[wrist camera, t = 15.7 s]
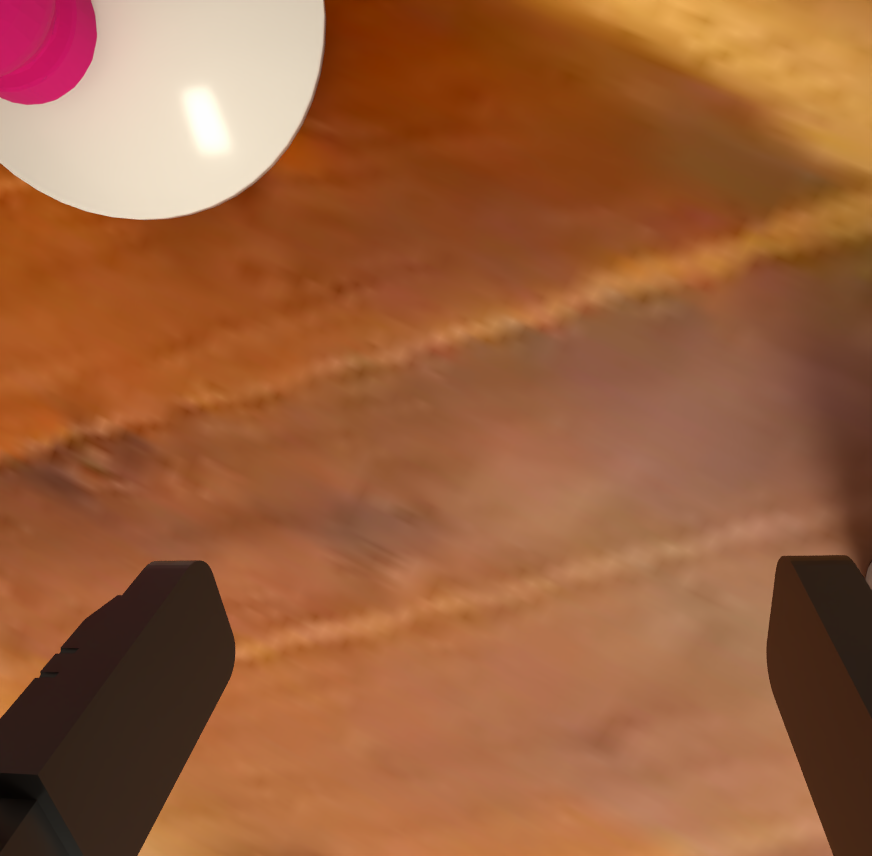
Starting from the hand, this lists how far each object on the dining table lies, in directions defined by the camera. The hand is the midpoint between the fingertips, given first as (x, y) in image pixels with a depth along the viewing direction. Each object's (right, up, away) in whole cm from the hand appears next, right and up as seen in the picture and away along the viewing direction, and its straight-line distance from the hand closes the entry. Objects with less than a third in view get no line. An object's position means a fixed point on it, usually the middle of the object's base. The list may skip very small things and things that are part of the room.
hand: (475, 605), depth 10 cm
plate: (-15, +22, +22) cm, 34 cm away
